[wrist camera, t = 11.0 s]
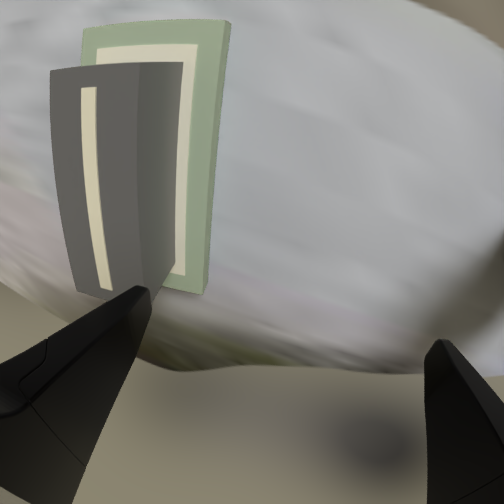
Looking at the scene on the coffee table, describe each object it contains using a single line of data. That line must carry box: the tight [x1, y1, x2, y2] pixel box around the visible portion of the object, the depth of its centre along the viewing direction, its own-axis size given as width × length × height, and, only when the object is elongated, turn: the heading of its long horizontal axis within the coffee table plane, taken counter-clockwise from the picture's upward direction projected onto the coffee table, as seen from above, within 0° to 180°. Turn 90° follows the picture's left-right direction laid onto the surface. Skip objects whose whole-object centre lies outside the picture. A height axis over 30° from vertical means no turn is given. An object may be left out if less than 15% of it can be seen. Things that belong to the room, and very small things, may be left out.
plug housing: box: [50, 62, 184, 303], centre depth 16 cm, size 5×13×5 cm, turn 173°
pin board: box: [81, 19, 231, 295], centre depth 18 cm, size 9×18×4 cm, turn 173°
